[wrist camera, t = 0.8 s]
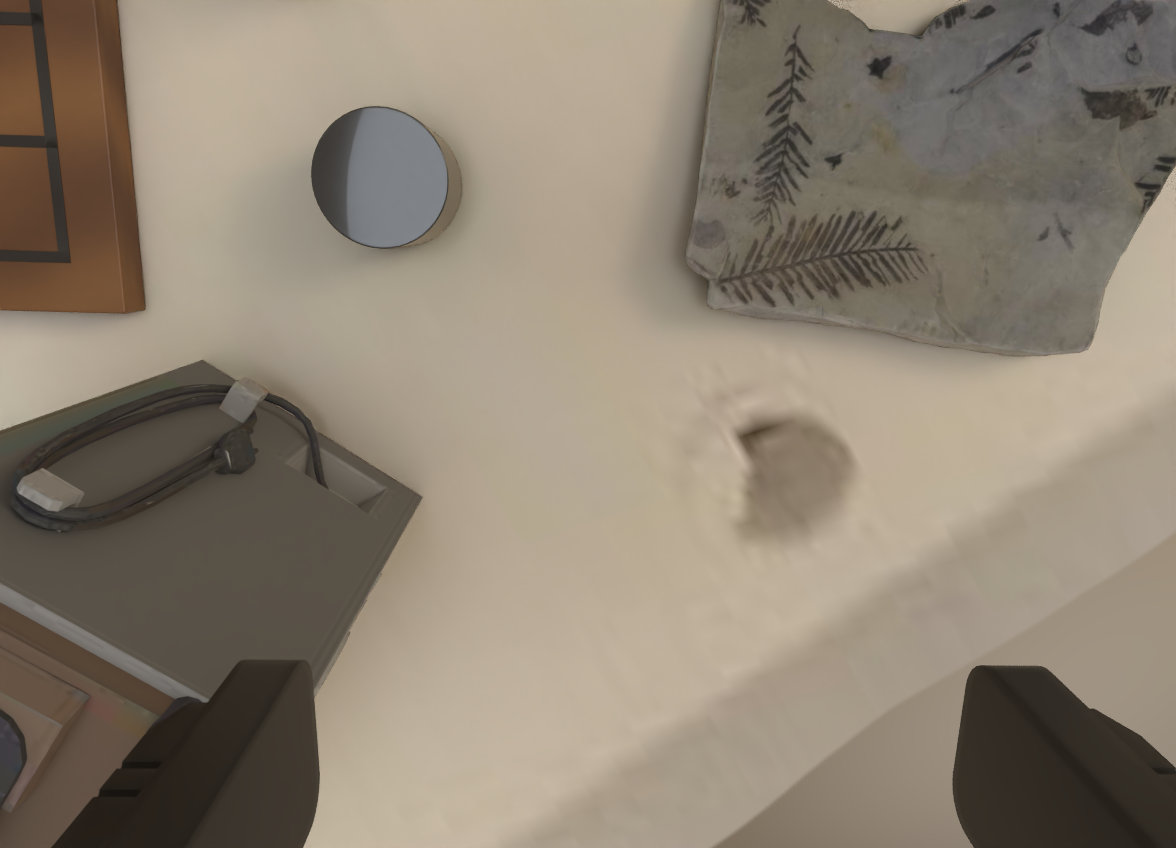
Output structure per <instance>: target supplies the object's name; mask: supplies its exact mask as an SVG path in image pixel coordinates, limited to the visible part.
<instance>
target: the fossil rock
mask: <svg viewBox="0 0 1176 848" xmlns="http://www.w3.org/2000/svg"><path fill="white" fill-rule="evenodd" d="M1175 166H1176V0H970V1H969V2H966V3H963V4H960V5H957V6H954V7H952V8H950V9H948V10H947V11H946V12H944V13H942V14H941V15H939V16H937V17H935V18H934V20H933V21H932V22H931V24H930V25H929V27H928V28H927V29H926V31H925V32H924V34H923V35H922V36H917V35H909V34H904V33H898V32H891V31H883V30H872V29H869V28H868V27H867V26H866V25H865V23H864V22H863V21H861V20H860V19H859V18H857V17H856V16H855V15H853V14H852V13H851V12H849V11H848V10H845V9H840V8H838V7H837V6H835V5H834V4H832V3H831V2H829V1H827V0H721V2H720V8H719V16H718V21H717V31H716V40H715V45H714V49H713V55H712V62H711V71H710V80H709V87H708V96H707V103H706V114H705V123H704V131H703V141H702V153H701V163H700V171H699V184H698V192H697V198H696V203H695V208H694V213H693V218H692V223H691V228H690V233H689V238H688V243H687V248H686V252H685V261H686V263H687V265H688V266H689V267H690V268H691V269H692V270H693V271H695V272H696V273H698V274H700V275H702V276H703V277H704V278H705V279H706V280H707V281H709V282H708V288H707V305H708V307H710V308H712V309H720V310H725V311H728V312H732V313H737V314H741V315H746V316H750V317H755V318H761V319H780V320H797V321H804V322H812V323H819V324H825V325H831V326H842V327H853V328H860V329H866V330H873V331H880V332H884V333H888V334H892V335H896V336H900V337H903V338H906V339H909V340H911V341H916V342H922V343H929V344H932V345H936V346H939V347H948V348H960V349H968V350H973V351H978V352H985V353H996V354H1000V355H1007V356H1047V355H1055V354H1069V353H1080V352H1083V351H1085V350H1088V348H1089V347H1090V345H1091V343H1092V341H1093V338H1094V335H1095V332H1096V328H1097V325H1098V322H1099V315H1100V309H1101V304H1102V300H1103V296H1104V292H1105V288H1106V286H1107V284H1108V282H1109V280H1110V278H1111V275H1112V273H1113V271H1114V269H1115V267H1116V265H1117V263H1118V261H1119V259H1120V257H1121V256H1122V254H1123V253H1124V252H1125V250H1126V249H1127V247H1128V245H1129V243H1130V241H1131V239H1132V237H1133V235H1134V234H1135V232H1136V230H1137V228H1138V227H1139V225H1140V223H1141V221H1142V220H1143V218H1144V216H1145V215H1146V213H1147V211H1148V210H1149V208H1150V207H1151V205H1152V204H1153V202H1154V201H1155V199H1156V198H1157V196H1158V195H1159V193H1160V192H1161V190H1162V188H1163V186H1164V184H1165V182H1166V180H1167V178H1168V176H1169V175H1170V173H1171V172H1172V170H1173V169H1174V167H1175Z"/></svg>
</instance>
